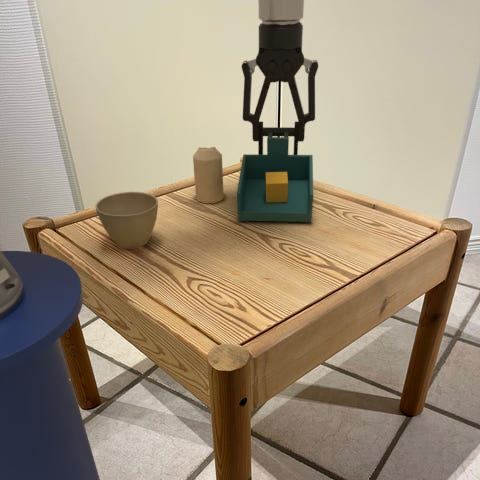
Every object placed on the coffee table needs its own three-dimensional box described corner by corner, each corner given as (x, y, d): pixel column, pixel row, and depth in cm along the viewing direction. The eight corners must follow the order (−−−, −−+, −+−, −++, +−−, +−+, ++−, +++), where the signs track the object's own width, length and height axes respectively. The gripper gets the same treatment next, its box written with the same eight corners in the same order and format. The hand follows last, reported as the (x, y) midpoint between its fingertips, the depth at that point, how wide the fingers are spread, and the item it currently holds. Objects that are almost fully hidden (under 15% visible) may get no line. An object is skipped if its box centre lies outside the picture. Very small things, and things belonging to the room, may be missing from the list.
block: (265, 202, 96) (265, 183, 93) (265, 191, 98) (265, 172, 95) (287, 202, 95) (288, 183, 92) (286, 190, 98) (287, 171, 95)
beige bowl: (118, 262, 82) (111, 221, 78) (93, 240, 88) (85, 200, 84) (173, 244, 86) (168, 204, 82) (145, 224, 93) (140, 186, 89)
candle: (223, 192, 105) (221, 142, 99) (224, 203, 100) (222, 151, 94) (196, 193, 105) (192, 144, 99) (196, 204, 100) (192, 153, 94)
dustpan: (245, 170, 105) (244, 125, 98) (310, 171, 104) (313, 126, 97) (237, 220, 93) (235, 173, 86) (311, 221, 92) (314, 174, 85)
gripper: (336, 18, 89) (326, 152, 102) (227, 20, 91) (231, 151, 104) (339, 23, 83) (328, 164, 96) (222, 25, 84) (227, 164, 98)
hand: (278, 157), depth 100 cm, fingers closed on dustpan, 6 cm apart
